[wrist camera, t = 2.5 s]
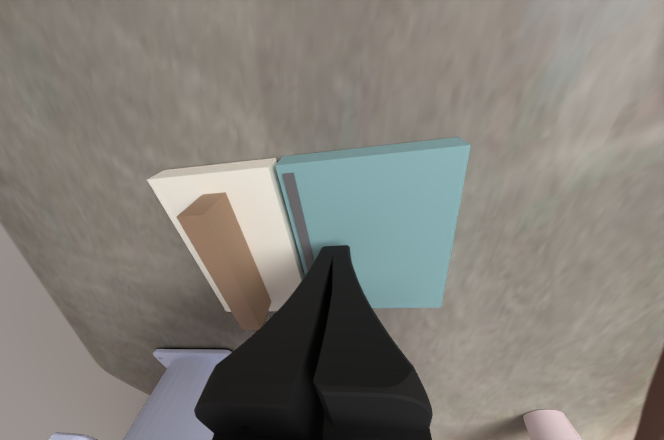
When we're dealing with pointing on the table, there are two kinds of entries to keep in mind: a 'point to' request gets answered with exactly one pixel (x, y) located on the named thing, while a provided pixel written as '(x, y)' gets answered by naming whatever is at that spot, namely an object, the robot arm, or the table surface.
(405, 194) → the teal flat block
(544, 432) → the smoothie
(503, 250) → the table surface
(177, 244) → the table surface
